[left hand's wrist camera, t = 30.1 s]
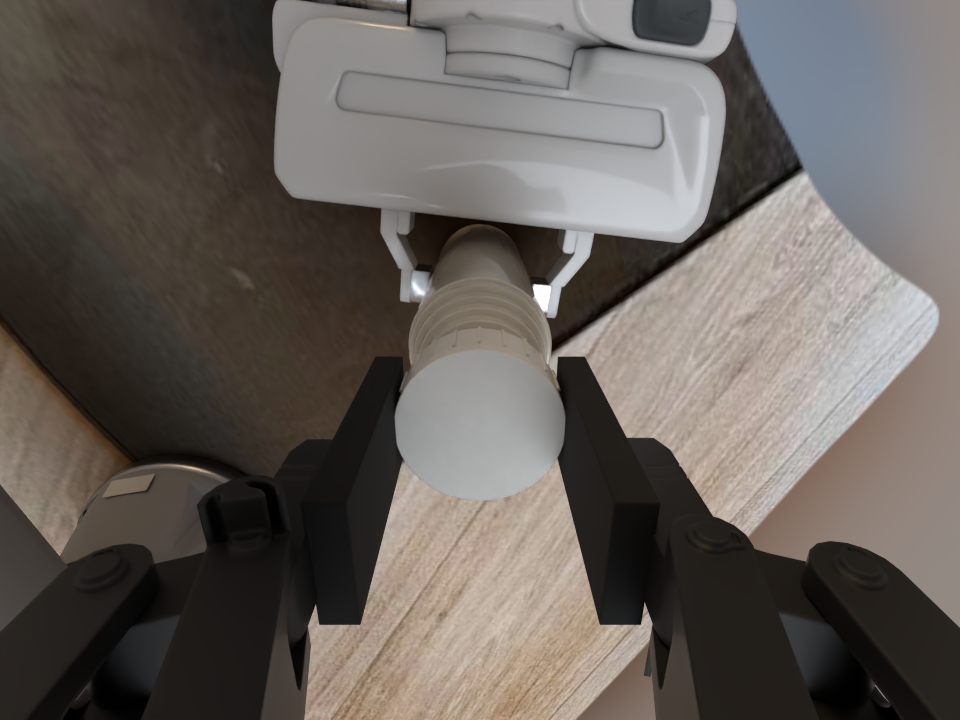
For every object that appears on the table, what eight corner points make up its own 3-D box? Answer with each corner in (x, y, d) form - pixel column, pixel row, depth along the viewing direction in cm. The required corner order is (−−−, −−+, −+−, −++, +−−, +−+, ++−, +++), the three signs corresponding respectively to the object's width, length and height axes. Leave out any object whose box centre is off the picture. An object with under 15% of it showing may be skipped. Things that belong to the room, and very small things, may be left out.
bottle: (432, 297, 33) (372, 475, 15) (446, 216, 31) (399, 302, 13) (510, 313, 34) (548, 506, 15) (529, 233, 32) (600, 343, 13)
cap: (517, 487, 16) (521, 523, 14) (378, 434, 15) (366, 467, 14) (587, 363, 14) (600, 390, 13) (436, 299, 14) (430, 318, 12)
